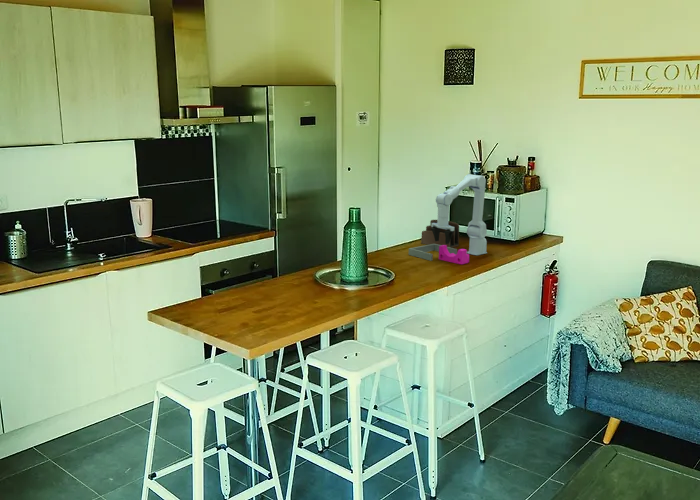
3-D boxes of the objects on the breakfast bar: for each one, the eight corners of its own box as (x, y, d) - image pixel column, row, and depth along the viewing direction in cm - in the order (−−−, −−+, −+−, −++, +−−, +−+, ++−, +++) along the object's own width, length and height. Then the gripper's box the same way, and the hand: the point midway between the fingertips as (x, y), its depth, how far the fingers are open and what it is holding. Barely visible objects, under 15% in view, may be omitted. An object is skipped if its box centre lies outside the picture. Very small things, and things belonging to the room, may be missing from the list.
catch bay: (434, 249, 384) (434, 243, 383) (456, 255, 371) (457, 249, 371) (408, 254, 372) (408, 248, 371) (431, 260, 359) (431, 254, 358)
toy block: (468, 262, 357) (469, 248, 355) (461, 264, 352) (462, 250, 351) (445, 257, 367) (446, 244, 365) (438, 259, 363) (439, 245, 361)
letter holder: (430, 241, 407) (431, 218, 404) (459, 246, 394) (460, 222, 391) (420, 243, 399) (421, 220, 396) (449, 249, 387) (450, 224, 384)
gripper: (427, 215, 357) (426, 240, 360) (448, 219, 346) (447, 245, 349) (437, 214, 361) (436, 239, 364) (457, 218, 350) (456, 243, 353)
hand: (442, 242), depth 357 cm, fingers open, 7 cm apart
